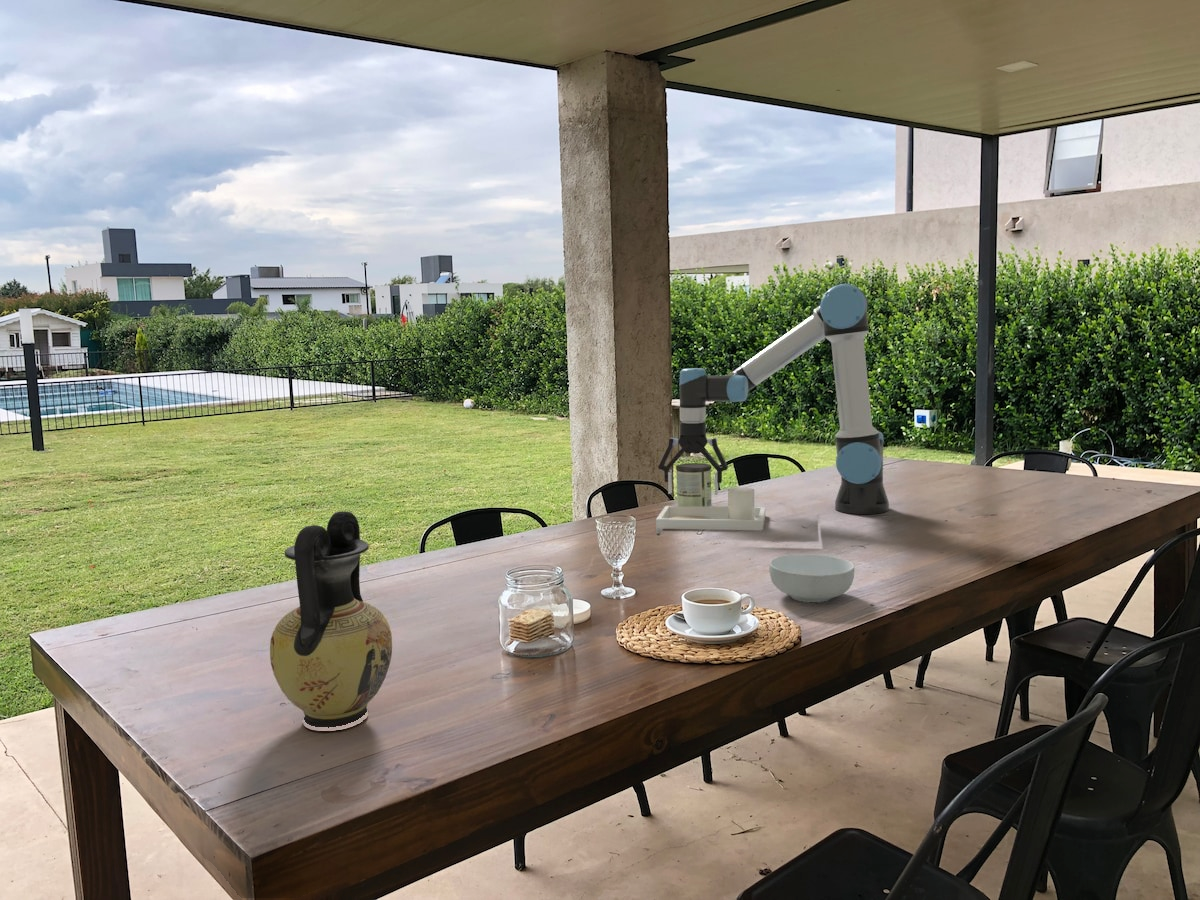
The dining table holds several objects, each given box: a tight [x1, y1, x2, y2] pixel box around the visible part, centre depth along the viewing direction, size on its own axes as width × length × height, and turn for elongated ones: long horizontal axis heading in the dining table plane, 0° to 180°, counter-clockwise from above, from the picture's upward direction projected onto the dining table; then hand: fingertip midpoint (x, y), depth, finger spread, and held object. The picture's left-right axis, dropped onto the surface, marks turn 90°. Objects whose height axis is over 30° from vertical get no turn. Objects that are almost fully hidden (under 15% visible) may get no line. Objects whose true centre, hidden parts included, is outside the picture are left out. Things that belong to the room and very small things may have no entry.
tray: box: [655, 505, 766, 535], centre depth 252 cm, size 28×18×4 cm, turn 78°
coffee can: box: [675, 462, 712, 506], centre depth 272 cm, size 10×10×14 cm
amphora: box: [269, 510, 393, 728], centre depth 133 cm, size 18×17×30 cm
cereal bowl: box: [769, 553, 855, 603], centre depth 187 cm, size 17×17×7 cm
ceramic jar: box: [727, 486, 756, 520], centre depth 250 cm, size 7×7×9 cm
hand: (693, 493), depth 272 cm, fingers open, 13 cm apart
